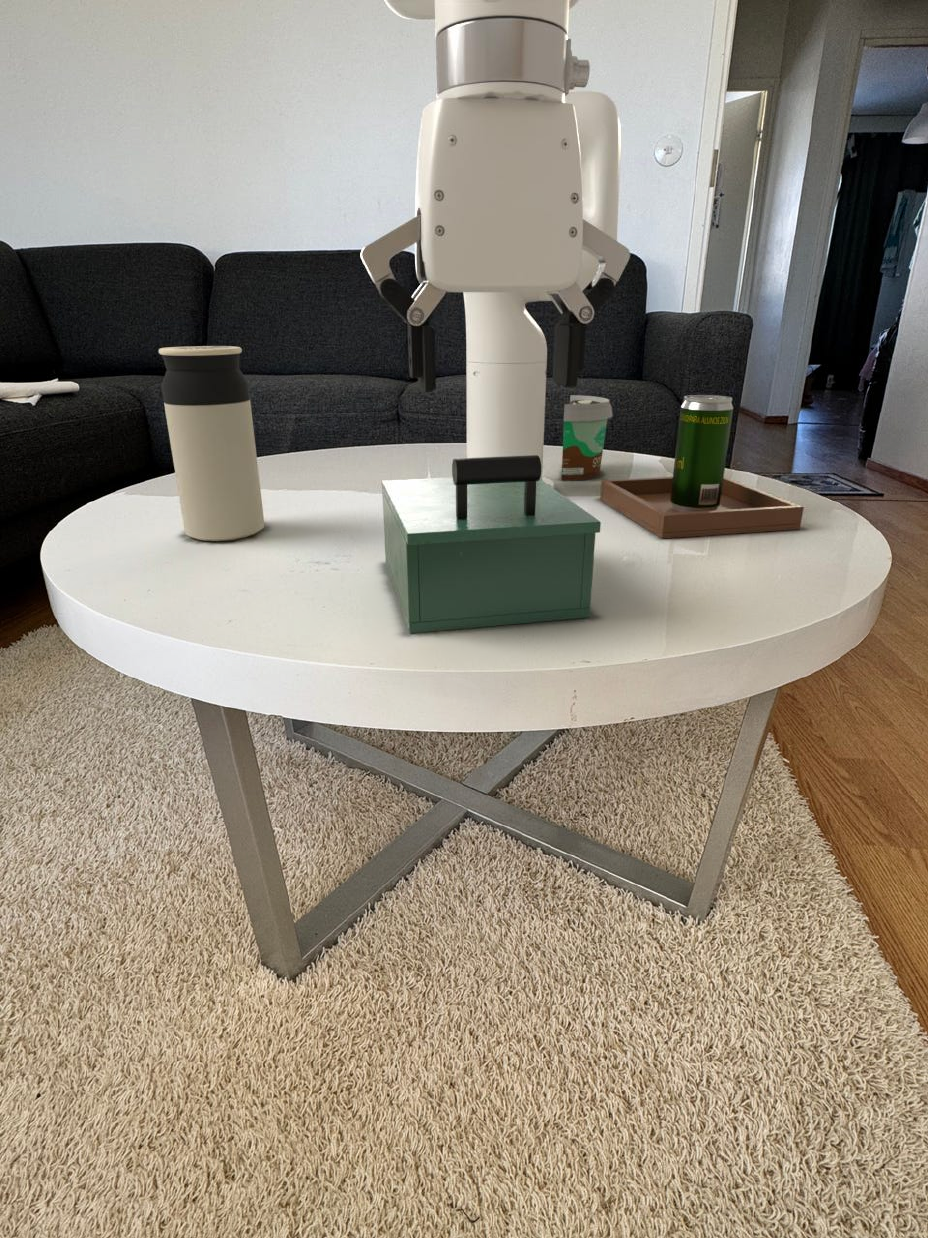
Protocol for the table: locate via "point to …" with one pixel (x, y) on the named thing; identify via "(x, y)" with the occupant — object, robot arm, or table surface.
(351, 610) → the table surface
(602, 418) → the food container
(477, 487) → the lid
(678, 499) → the beer can
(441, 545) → the green box
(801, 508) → the tray
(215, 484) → the travel mug
